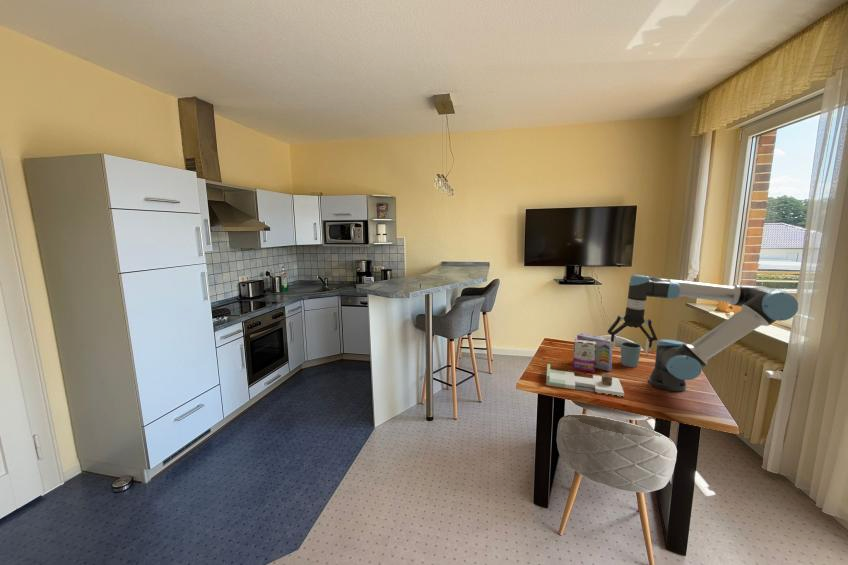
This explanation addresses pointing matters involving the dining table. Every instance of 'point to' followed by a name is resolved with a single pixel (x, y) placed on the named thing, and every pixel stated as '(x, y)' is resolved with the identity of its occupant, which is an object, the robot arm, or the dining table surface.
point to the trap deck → (582, 382)
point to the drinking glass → (630, 354)
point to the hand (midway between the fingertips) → (629, 350)
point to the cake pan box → (600, 350)
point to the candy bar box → (584, 355)
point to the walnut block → (606, 379)
